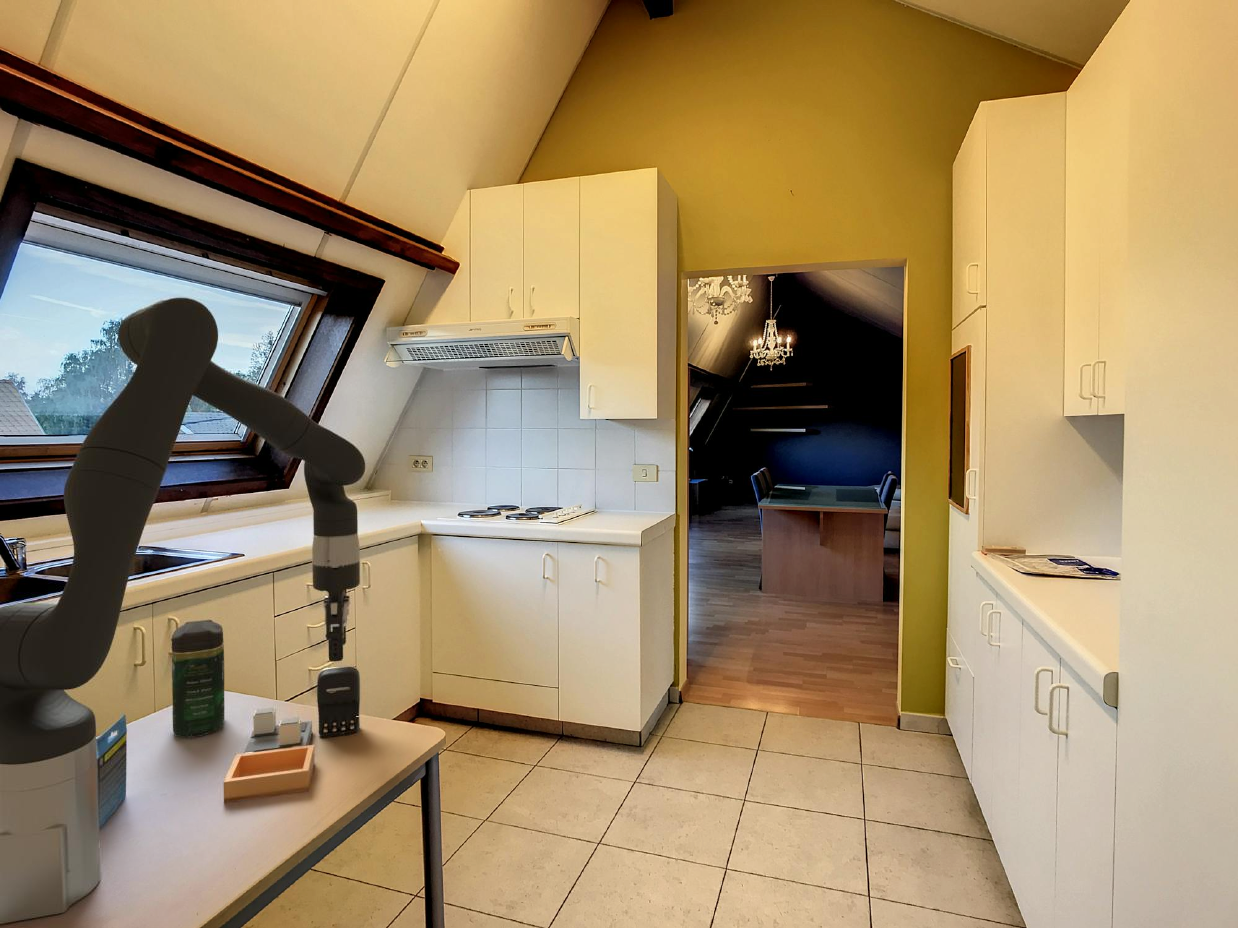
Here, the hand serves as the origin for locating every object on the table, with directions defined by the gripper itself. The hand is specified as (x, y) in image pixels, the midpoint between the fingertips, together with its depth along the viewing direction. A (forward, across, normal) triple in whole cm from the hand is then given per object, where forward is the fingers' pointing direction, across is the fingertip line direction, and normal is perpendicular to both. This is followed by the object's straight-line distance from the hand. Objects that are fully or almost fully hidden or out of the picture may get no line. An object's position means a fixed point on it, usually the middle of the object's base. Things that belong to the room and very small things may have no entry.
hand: (337, 652), depth 119 cm
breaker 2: (+12, +6, -7) cm, 15 cm away
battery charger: (+14, 0, 0) cm, 15 cm away
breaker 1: (+12, +1, -11) cm, 17 cm away
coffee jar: (+14, -10, -23) cm, 29 cm away
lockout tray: (+14, +15, -8) cm, 22 cm away
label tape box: (+14, +17, -30) cm, 37 cm away
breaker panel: (+14, +4, -9) cm, 17 cm away
